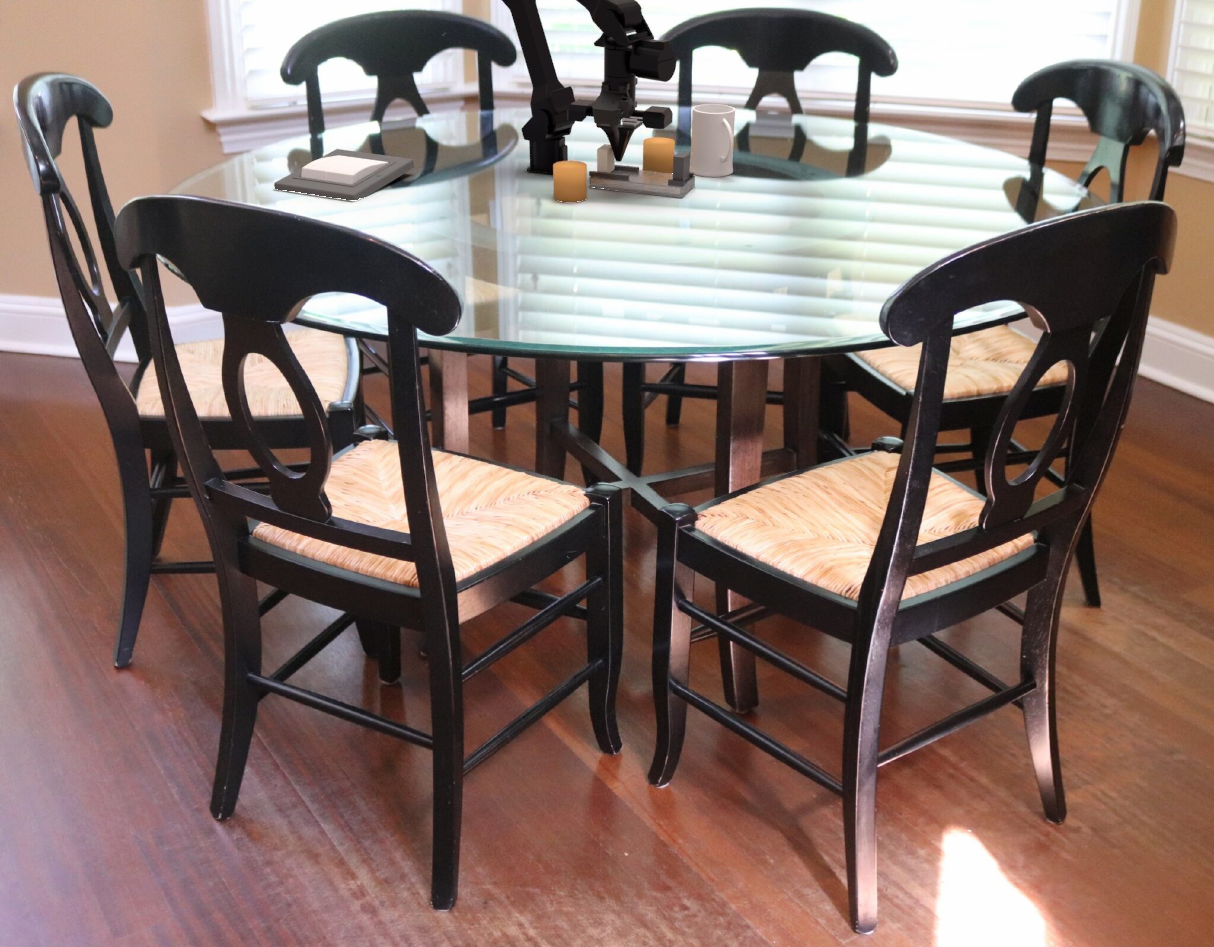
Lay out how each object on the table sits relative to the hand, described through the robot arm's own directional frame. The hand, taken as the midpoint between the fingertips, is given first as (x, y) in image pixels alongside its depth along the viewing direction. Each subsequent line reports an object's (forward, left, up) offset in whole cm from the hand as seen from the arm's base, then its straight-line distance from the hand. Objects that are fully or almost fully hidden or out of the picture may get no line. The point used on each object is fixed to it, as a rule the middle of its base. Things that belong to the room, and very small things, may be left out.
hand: (618, 161), depth 231 cm
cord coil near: (-5, -11, -4) cm, 13 cm away
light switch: (-48, -17, -5) cm, 51 cm away
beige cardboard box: (-2, 0, -2) cm, 3 cm away
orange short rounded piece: (+4, +11, -4) cm, 13 cm away
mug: (+15, +14, -5) cm, 21 cm away
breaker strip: (+5, 0, -4) cm, 6 cm away
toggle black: (+12, 0, -2) cm, 12 cm away
